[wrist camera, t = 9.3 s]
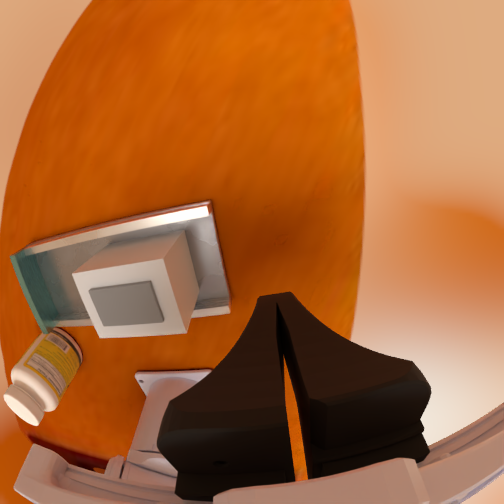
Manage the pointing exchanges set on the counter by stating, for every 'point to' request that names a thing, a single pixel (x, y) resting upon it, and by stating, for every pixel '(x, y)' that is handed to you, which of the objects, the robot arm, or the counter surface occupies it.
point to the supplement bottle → (43, 375)
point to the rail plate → (98, 236)
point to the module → (140, 286)
